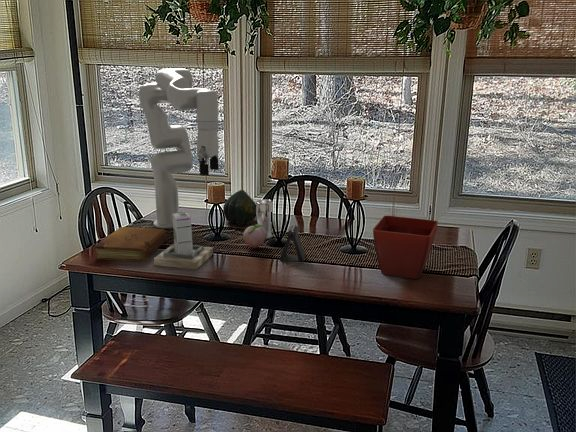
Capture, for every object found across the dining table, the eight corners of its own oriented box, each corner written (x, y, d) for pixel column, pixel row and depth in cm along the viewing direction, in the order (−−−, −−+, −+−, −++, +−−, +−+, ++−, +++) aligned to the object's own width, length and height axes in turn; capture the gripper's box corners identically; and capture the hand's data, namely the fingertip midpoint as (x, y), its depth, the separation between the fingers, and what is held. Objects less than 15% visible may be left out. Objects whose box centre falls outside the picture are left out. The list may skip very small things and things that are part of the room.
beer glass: (274, 234, 240) (274, 199, 236) (272, 240, 233) (271, 204, 229) (257, 233, 241) (257, 198, 236) (254, 239, 234) (254, 203, 230)
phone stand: (305, 256, 216) (306, 226, 212) (303, 262, 210) (304, 231, 206) (282, 255, 217) (282, 224, 214) (279, 260, 211) (279, 229, 208)
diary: (145, 263, 209) (143, 248, 208) (95, 261, 212) (94, 246, 210) (166, 242, 231) (165, 228, 229) (121, 240, 234) (120, 226, 232)
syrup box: (193, 254, 210) (191, 215, 206) (177, 256, 208) (175, 217, 204) (189, 249, 215) (188, 211, 211) (173, 251, 213) (171, 213, 209)
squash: (225, 218, 243) (246, 189, 245) (212, 210, 256) (232, 183, 258) (249, 235, 250) (269, 207, 252) (235, 227, 263) (254, 201, 265)
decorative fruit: (249, 243, 229) (248, 219, 227) (268, 245, 227) (268, 221, 224) (239, 250, 221) (239, 225, 218) (259, 253, 218) (259, 228, 215)
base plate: (173, 249, 221) (173, 240, 220) (213, 253, 218) (212, 244, 217) (154, 264, 207) (153, 255, 206) (196, 269, 203) (195, 259, 202)
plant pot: (382, 258, 215) (384, 214, 210) (434, 265, 208) (438, 220, 203) (369, 276, 198) (372, 229, 193) (426, 285, 191) (430, 236, 186)
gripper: (207, 121, 217) (208, 166, 222) (188, 128, 201) (190, 176, 206) (226, 122, 215) (227, 168, 220) (208, 129, 199) (210, 178, 204)
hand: (209, 172), depth 213 cm, fingers open, 9 cm apart
